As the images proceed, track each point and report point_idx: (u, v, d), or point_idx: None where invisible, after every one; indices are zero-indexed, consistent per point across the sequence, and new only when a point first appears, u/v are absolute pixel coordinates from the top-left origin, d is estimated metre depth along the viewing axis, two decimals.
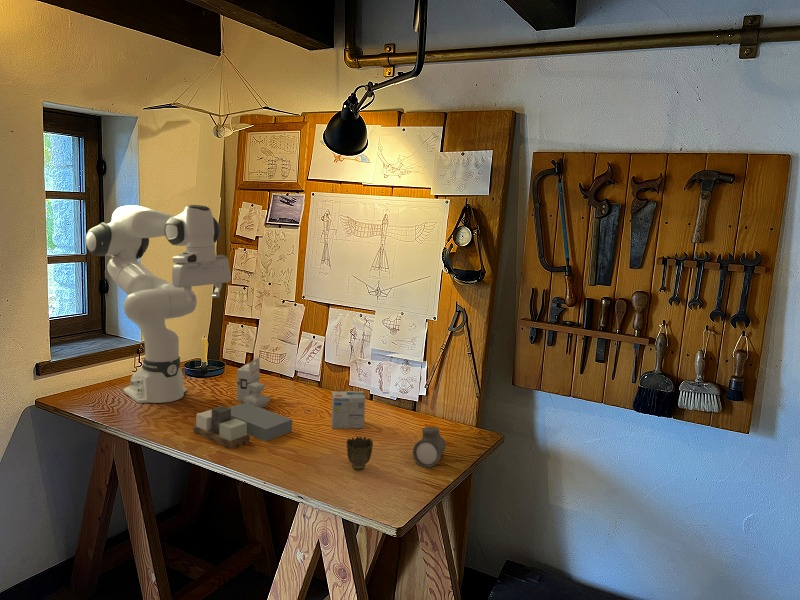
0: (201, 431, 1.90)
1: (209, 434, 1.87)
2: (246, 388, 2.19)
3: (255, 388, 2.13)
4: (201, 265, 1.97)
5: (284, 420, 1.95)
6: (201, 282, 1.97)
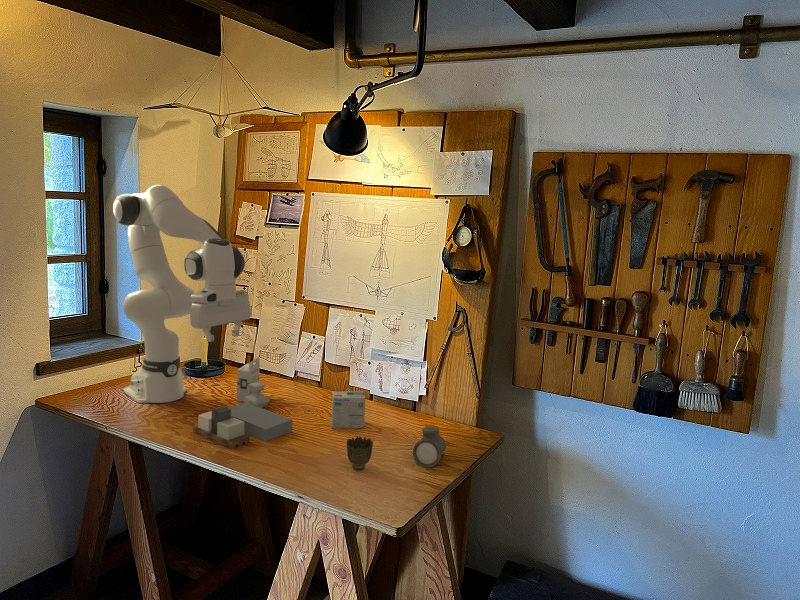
0: (201, 431, 1.90)
1: (209, 434, 1.87)
2: (246, 388, 2.19)
3: (255, 388, 2.13)
4: (221, 303, 1.84)
5: (284, 420, 1.95)
6: (220, 321, 1.85)
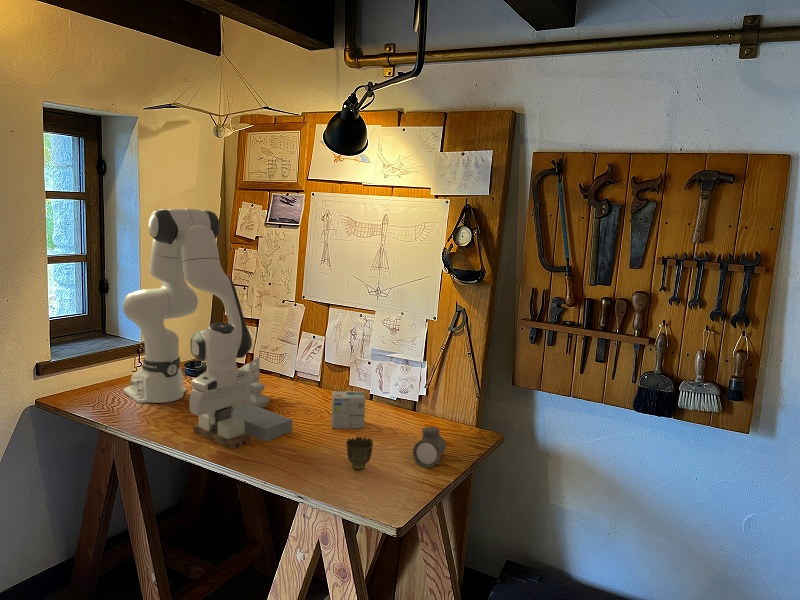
0: (201, 430, 1.89)
1: (209, 433, 1.87)
2: None
3: (255, 388, 2.13)
4: (221, 389, 1.84)
5: (284, 420, 1.95)
6: (219, 406, 1.85)
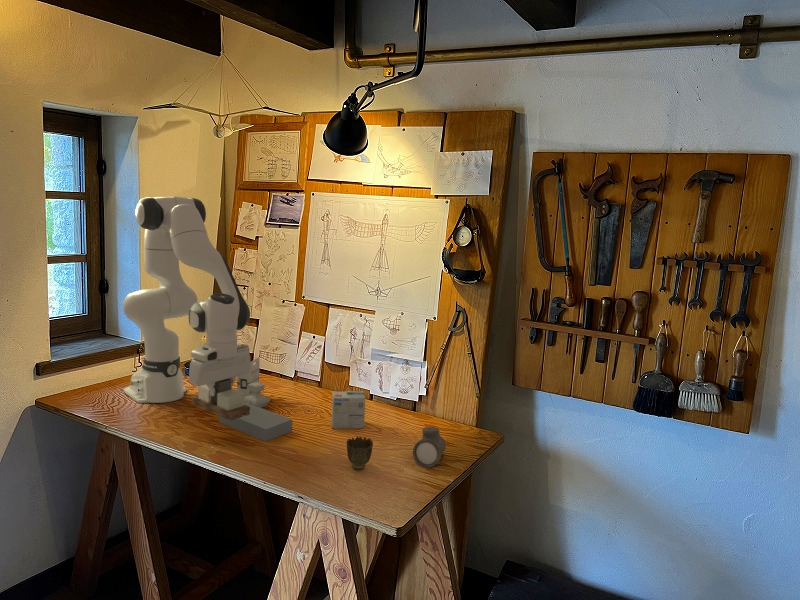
0: (201, 402, 1.88)
1: (209, 405, 1.86)
2: (246, 388, 2.19)
3: (255, 388, 2.13)
4: (221, 361, 1.82)
5: (284, 420, 1.95)
6: (219, 378, 1.84)
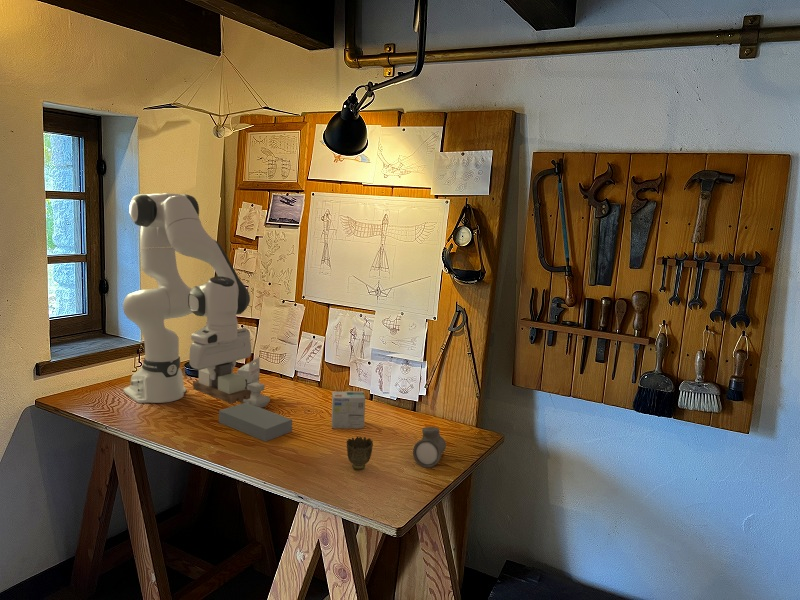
0: (201, 386, 1.87)
1: (209, 389, 1.85)
2: (246, 388, 2.19)
3: (255, 388, 2.13)
4: (221, 344, 1.81)
5: (284, 420, 1.95)
6: (220, 361, 1.83)
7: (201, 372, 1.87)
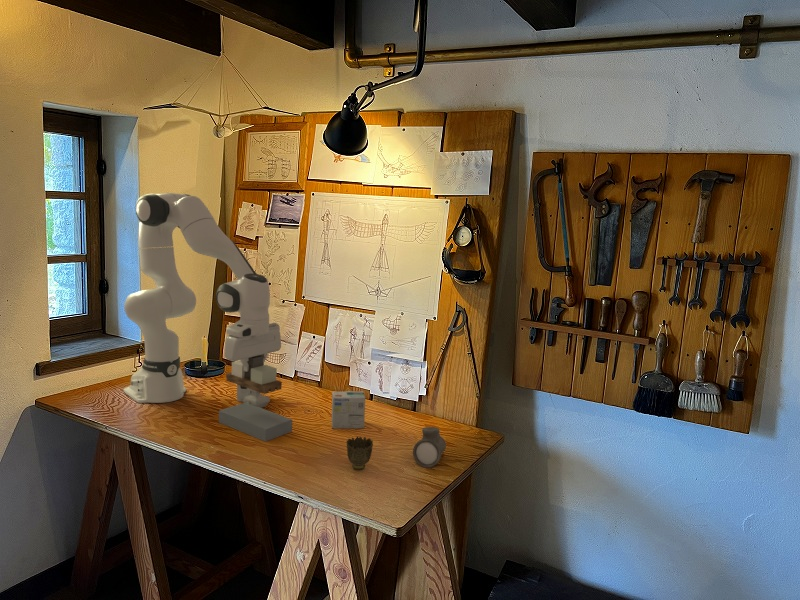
0: (234, 378, 1.97)
1: (242, 380, 1.95)
2: (246, 388, 2.19)
3: None
4: (254, 337, 1.91)
5: (284, 420, 1.95)
6: (252, 354, 1.93)
7: (234, 364, 1.97)
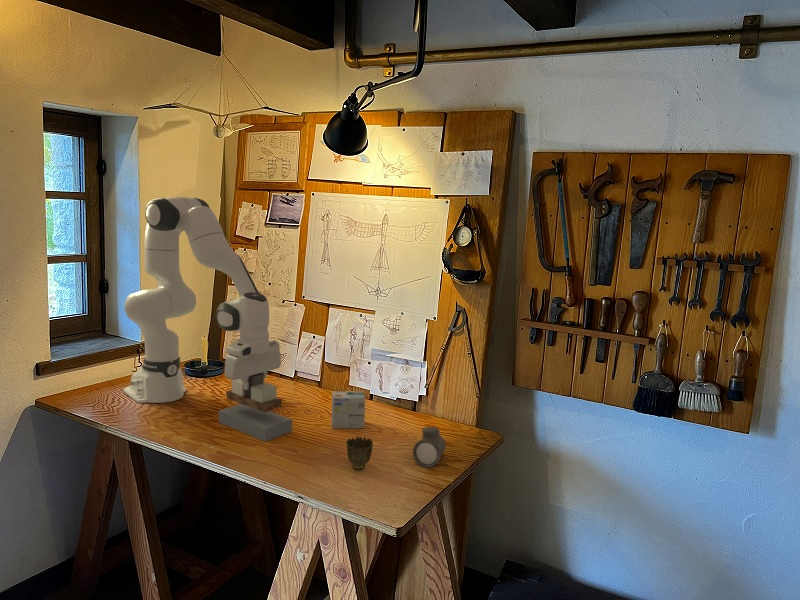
0: (235, 396, 1.98)
1: (243, 398, 1.96)
2: None
3: None
4: (254, 356, 1.93)
5: (284, 420, 1.95)
6: (252, 372, 1.94)
7: (234, 382, 1.98)
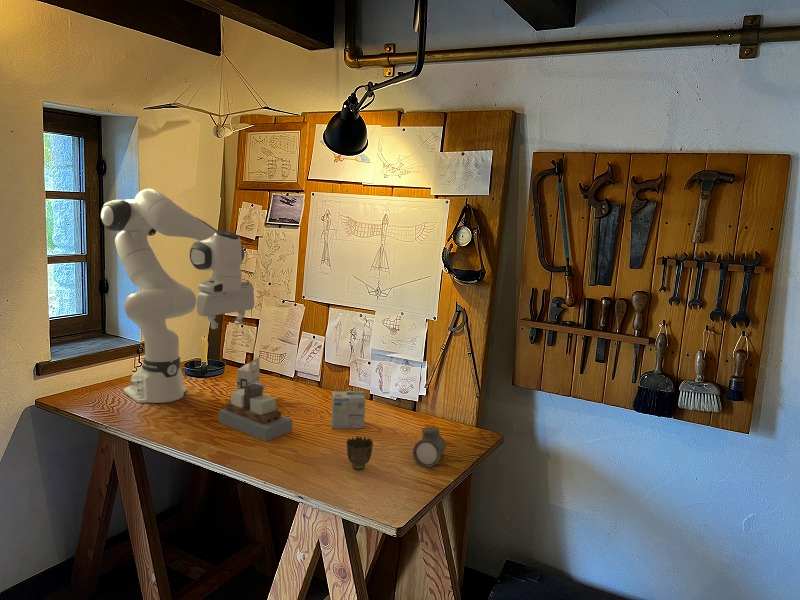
0: (234, 407, 1.99)
1: (242, 410, 1.97)
2: None
3: None
4: (226, 294, 1.94)
5: (284, 420, 1.95)
6: (225, 310, 1.95)
7: (234, 394, 1.99)
